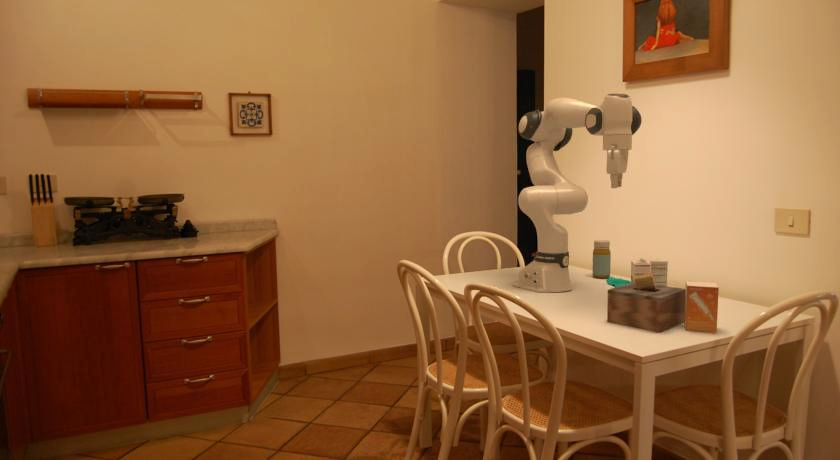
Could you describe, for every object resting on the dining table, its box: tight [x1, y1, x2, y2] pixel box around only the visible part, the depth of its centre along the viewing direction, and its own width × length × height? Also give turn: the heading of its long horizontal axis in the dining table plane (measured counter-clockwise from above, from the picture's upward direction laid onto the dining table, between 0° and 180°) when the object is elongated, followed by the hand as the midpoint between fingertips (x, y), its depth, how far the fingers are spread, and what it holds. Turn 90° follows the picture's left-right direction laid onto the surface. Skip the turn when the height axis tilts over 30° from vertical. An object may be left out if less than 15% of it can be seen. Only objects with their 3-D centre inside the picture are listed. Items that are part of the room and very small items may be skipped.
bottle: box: [592, 239, 612, 279], centre depth 241 cm, size 7×7×15 cm
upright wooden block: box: [634, 273, 656, 292], centre depth 171 cm, size 5×2×5 cm, turn 67°
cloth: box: [605, 276, 631, 287], centre depth 225 cm, size 26×14×2 cm, turn 163°
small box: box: [683, 281, 720, 334], centre depth 164 cm, size 8×6×13 cm
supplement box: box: [639, 257, 669, 286], centre depth 208 cm, size 7×7×13 cm
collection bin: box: [606, 282, 685, 334], centre depth 172 cm, size 16×16×10 cm
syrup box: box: [630, 259, 651, 283], centre depth 194 cm, size 6×6×14 cm
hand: (616, 187), depth 188 cm, fingers open, 8 cm apart
